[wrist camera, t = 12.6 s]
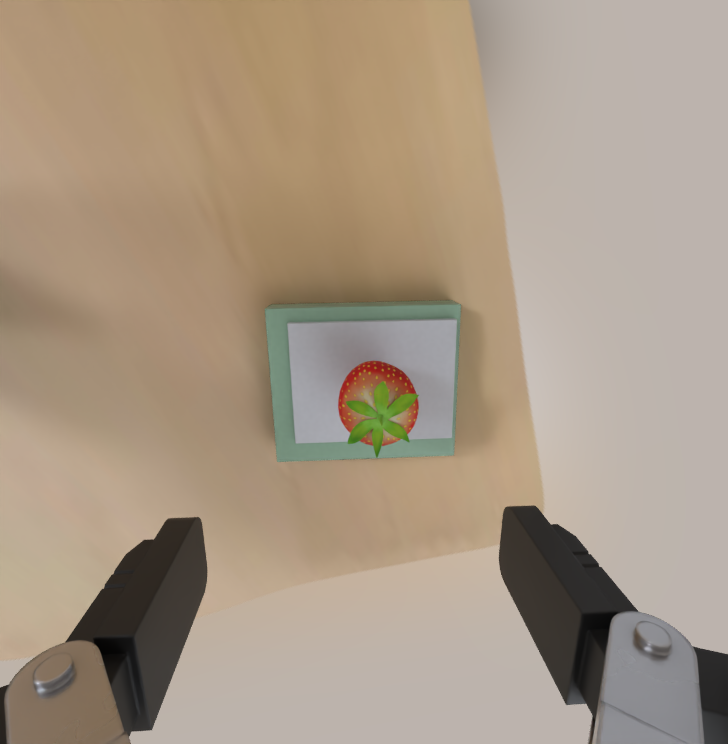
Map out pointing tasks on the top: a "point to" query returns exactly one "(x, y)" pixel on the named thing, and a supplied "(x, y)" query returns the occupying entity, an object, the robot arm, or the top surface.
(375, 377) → the fruit
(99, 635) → the robot arm
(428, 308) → the scale
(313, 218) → the top surface
